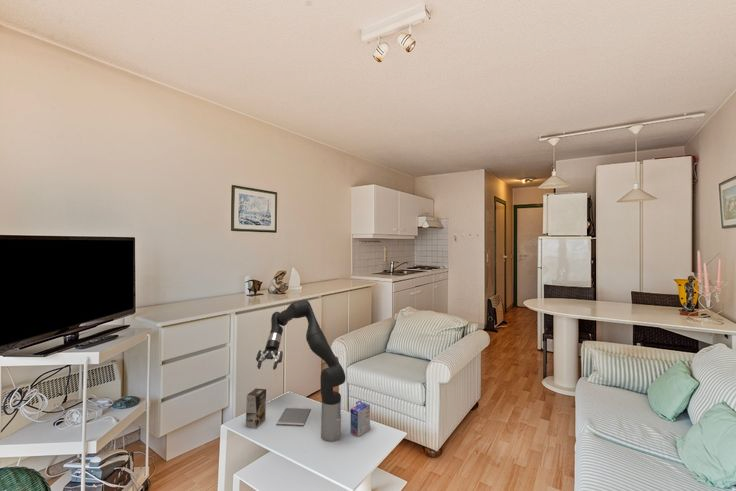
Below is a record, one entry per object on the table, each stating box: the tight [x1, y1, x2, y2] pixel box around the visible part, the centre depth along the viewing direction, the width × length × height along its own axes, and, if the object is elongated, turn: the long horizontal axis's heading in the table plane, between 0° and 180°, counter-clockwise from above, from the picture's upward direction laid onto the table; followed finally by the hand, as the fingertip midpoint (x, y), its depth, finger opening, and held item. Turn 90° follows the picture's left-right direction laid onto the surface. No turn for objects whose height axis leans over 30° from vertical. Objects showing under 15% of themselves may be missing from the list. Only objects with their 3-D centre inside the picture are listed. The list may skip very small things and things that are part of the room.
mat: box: [276, 406, 312, 427], centre depth 180 cm, size 14×18×1 cm
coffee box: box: [245, 387, 267, 429], centre depth 173 cm, size 9×6×16 cm
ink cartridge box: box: [350, 399, 371, 438], centre depth 168 cm, size 10×6×14 cm, turn 142°
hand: (266, 368), depth 186 cm, fingers open, 8 cm apart
